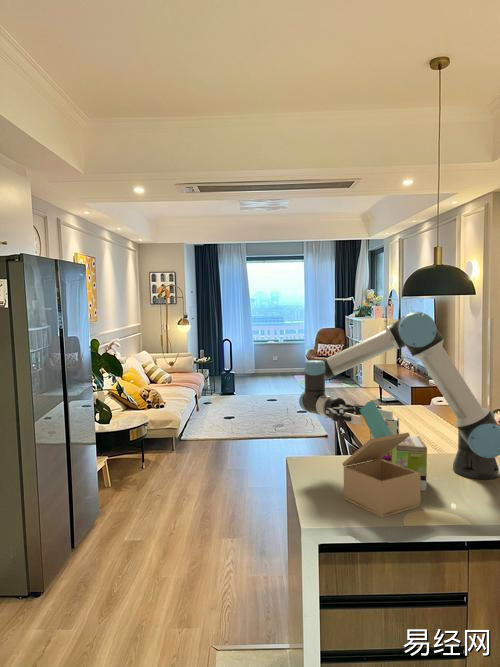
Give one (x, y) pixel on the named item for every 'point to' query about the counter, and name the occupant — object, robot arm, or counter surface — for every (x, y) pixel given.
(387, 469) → the carton
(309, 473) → the counter surface
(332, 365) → the robot arm
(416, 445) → the tea box
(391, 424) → the candy bar box
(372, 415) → the carton lid
